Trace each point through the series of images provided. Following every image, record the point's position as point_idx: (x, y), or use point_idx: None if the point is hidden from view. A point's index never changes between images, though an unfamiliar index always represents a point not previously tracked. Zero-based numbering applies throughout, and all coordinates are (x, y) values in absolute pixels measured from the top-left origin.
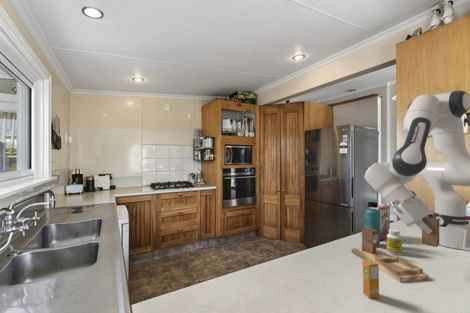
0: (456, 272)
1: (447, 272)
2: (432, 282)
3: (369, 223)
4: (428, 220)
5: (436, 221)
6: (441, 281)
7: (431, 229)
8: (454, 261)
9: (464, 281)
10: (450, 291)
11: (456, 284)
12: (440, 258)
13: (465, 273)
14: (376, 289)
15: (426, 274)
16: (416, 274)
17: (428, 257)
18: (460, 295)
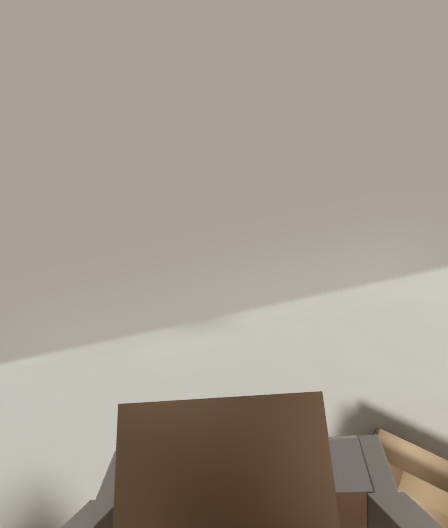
0: (153, 363)
1: (188, 390)
2: (391, 403)
3: None
4: (335, 525)
5: (320, 394)
6: (334, 379)
7: (361, 446)
8: (4, 405)
9: (235, 316)
10: (411, 324)
11: (304, 328)
12: (6, 466)
13: (132, 335)
14: None
15: (382, 438)
16: (443, 477)
17: (36, 521)
18: (410, 290)
